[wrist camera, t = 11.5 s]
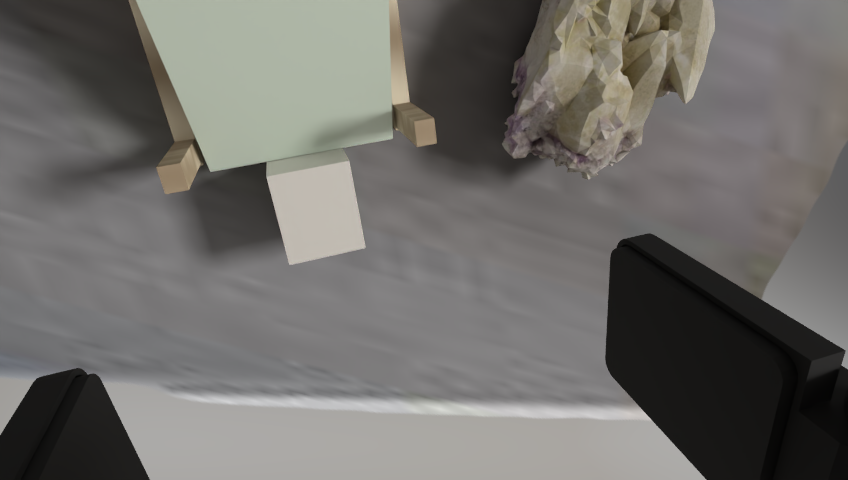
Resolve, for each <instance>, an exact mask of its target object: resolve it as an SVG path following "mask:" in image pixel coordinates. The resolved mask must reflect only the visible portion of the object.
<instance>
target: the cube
mask: <svg viewBox="0 0 848 480" xmlns="http://www.w3.org/2000/svg"><path fill="white" fill-rule="evenodd" d="M266 177H267V181H268V185H269V189H270V192H271V196H272V200H273V204H274V208H275V212H276V215H277V219H278V223H279V227H280V231H281V234H282V238H283V242H284V246H285V250H286V253H287V257H288V261H289V265H292V264H297V263H301V262H306V261H310V260H314V259H319V258H323V257H328V256H332V255H337V254H341V253H346V252H350V251H354V250H359V249H363V248H366V247H365V242H364V237H363V231H362V226H361V221H360V215H359V210H358V205H357V200H356V194H355V189H354V184H353V178H352V173H351V168H350V162H349V159H348V158H347V156H346V154H345V152H344V150H343V148H339V149H334V150H328V151H323V152H317V153H312V154H306V155H301V156H295V157H290V158H284V159H279V160H274V161H268V162H267V170H266Z"/></svg>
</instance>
